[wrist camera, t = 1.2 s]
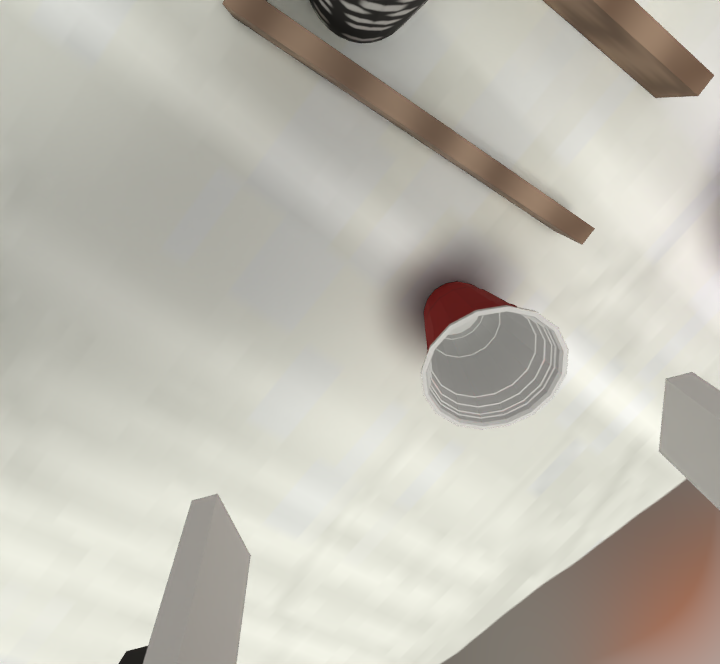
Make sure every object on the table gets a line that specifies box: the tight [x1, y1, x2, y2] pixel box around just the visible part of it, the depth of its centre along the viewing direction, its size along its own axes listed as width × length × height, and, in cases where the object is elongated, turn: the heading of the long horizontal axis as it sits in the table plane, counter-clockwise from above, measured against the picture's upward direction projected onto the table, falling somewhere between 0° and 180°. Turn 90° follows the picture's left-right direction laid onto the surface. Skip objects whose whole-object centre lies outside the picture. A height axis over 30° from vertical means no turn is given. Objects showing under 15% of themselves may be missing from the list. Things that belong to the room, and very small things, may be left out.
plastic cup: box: [421, 281, 568, 430], centre depth 38 cm, size 11×11×12 cm
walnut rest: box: [223, 0, 714, 244], centre depth 32 cm, size 31×14×4 cm, turn 60°
